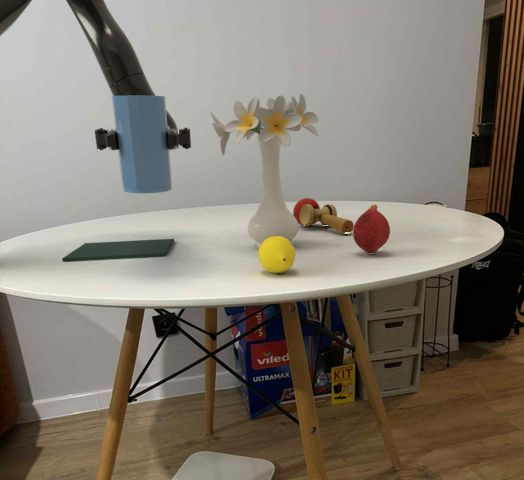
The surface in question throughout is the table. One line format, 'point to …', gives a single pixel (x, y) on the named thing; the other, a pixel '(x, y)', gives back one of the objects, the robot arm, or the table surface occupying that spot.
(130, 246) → the mat
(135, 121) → the tumbler
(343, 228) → the kendama
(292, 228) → the flower vase
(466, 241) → the table surface
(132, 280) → the table surface
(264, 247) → the lemon
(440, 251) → the table surface
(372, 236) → the onion
